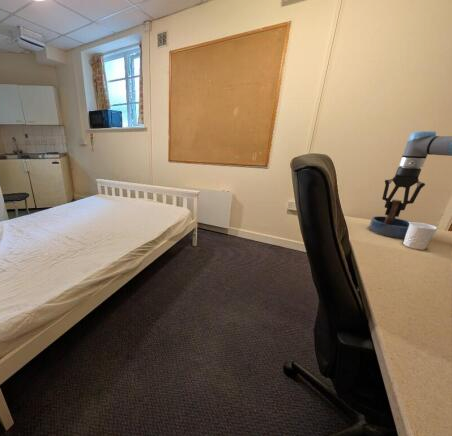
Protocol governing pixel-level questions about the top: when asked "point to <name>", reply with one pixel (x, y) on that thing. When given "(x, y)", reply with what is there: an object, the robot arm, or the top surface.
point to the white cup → (419, 235)
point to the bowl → (389, 227)
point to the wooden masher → (392, 212)
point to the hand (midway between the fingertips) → (391, 215)
